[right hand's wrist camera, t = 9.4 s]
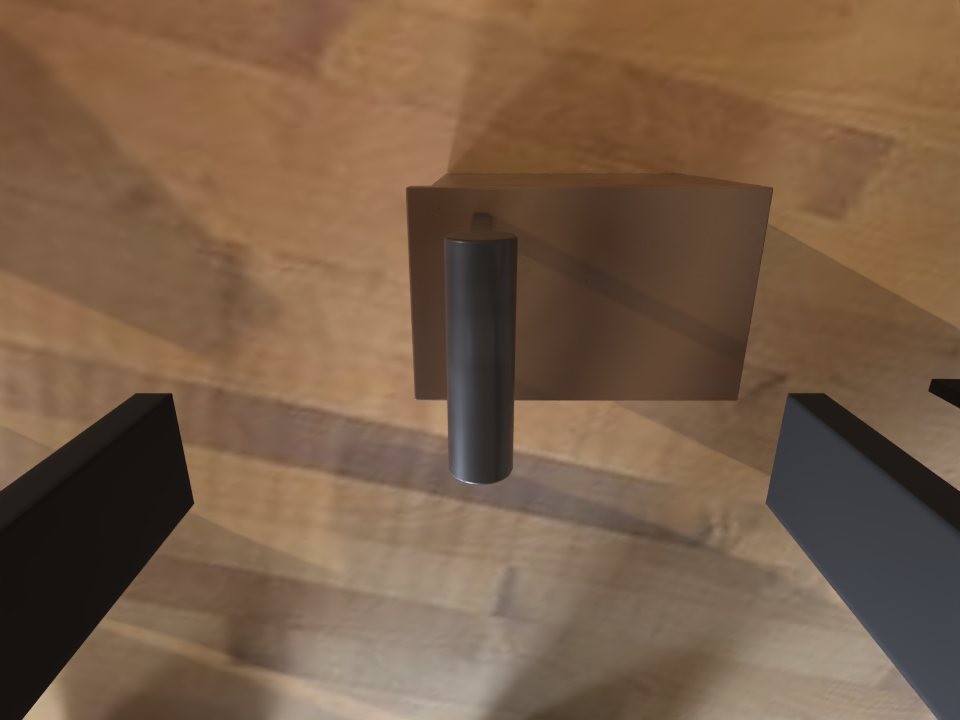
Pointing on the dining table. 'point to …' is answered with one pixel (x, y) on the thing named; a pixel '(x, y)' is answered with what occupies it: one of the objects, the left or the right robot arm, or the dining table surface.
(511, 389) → the lid
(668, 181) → the chest
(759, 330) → the dining table surface
